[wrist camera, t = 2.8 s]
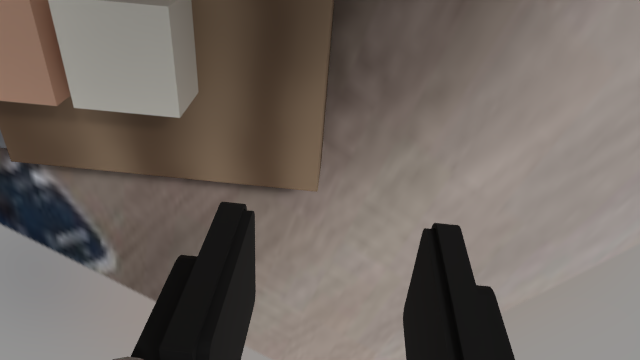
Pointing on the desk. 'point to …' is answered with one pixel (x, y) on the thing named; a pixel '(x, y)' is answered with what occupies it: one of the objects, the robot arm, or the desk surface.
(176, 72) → the tile cream
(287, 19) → the plate
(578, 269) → the desk surface
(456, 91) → the desk surface
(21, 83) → the tile terracotta
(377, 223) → the desk surface
